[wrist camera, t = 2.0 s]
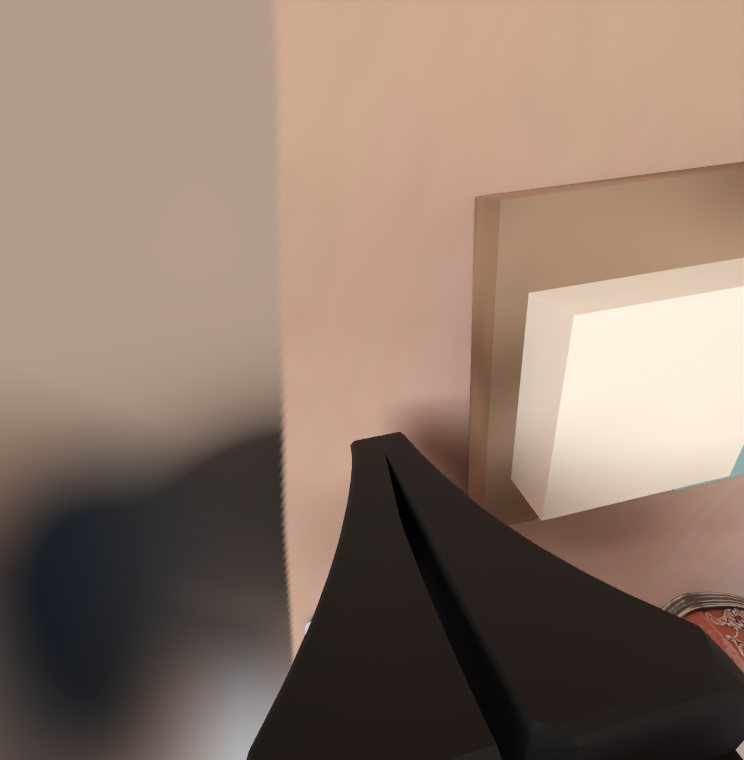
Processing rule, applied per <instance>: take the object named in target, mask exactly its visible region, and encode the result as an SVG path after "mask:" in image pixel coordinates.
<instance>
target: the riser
mask: <svg viewBox="0 0 744 760" xmlns="http://www.w3.org/2000/svg"><path fill="white" fill-rule="evenodd" d="M739 258H744V162H739V163H731V164H723V165H716V166H708V167H700V168H693V169H685V170H677V171H670V172H662V173H654V174H646V175H639V176H631V177H623V178H616V179H608V180H600V181H593V182H585V183H577V184H570V185H562V186H554V187H547V188H539V189H531V190H524V191H516V192H508V193H501V194H493V195H485V196H478V197H475V228H474V267H473V306H472V346H471V385H470V425H469V464H468V497H470V498H471V499H472V500H473V501H475V502H476V503H477V504H478V505H480V506H481V507H482V508H484V509H485V510H486V511H488V512H489V513H490V514H492V515H493V516H494V517H496V518H497V519H498V520H500V521H501V522H503V523H504V524H506V525H507V526H508V525H512V524H516V523H520V522H524V521H529V520H533V519H537V518H539V517H538V515H537V514H536V513H535V511H534V510H533V508H532V507H531V506H530V504H529V503H528V502H527V500H526V499H525V498H524V496H523V495H522V493H521V492H520V491H519V489H518V488H517V487H516V485H515V484H514V482H513V481H512V480H511V473H512V462H513V452H514V441H515V431H516V421H517V410H518V400H519V389H520V379H521V369H522V358H523V348H524V337H525V327H526V317H527V306H528V296H529V293H531V292H537V291H544V290H550V289H556V288H562V287H568V286H574V285H580V284H586V283H592V282H598V281H604V280H611V279H617V278H623V277H629V276H635V275H641V274H647V273H653V272H659V271H665V270H672V269H678V268H684V267H690V266H696V265H702V264H708V263H714V262H720V261H726V260H733V259H739Z"/></svg>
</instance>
